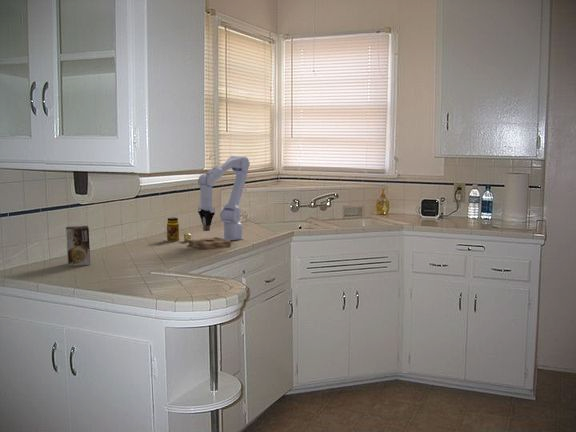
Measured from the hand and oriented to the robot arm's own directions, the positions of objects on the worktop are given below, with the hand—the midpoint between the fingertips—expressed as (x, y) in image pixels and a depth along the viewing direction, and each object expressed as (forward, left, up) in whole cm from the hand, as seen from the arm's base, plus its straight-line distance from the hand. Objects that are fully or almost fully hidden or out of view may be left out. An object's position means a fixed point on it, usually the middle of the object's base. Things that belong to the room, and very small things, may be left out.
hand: (206, 225), depth 325 cm
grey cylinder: (0, 0, -3) cm, 3 cm away
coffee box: (+69, +13, -10) cm, 71 cm away
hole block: (+1, +5, -10) cm, 11 cm away
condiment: (+10, -18, -10) cm, 23 cm away
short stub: (+5, -11, -10) cm, 15 cm away
